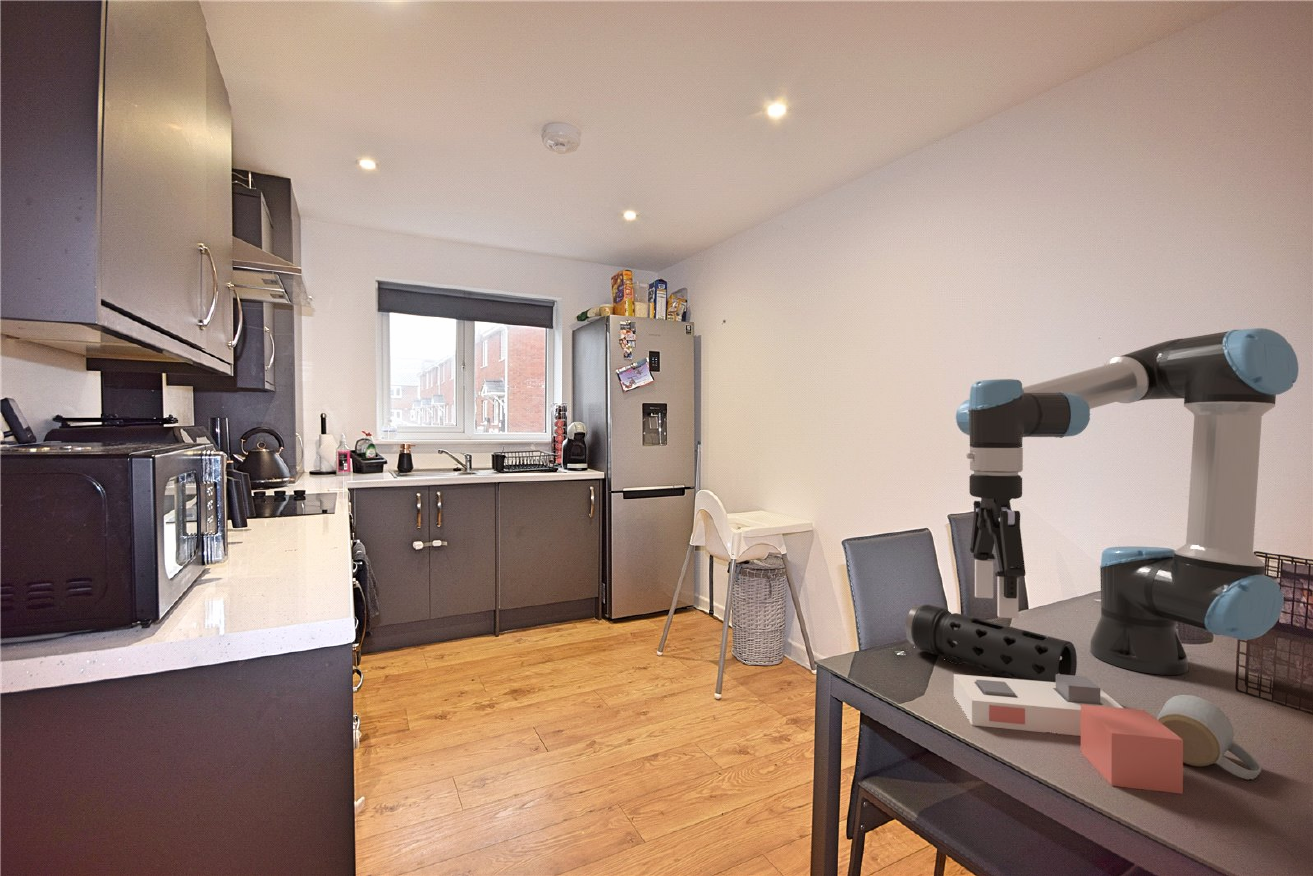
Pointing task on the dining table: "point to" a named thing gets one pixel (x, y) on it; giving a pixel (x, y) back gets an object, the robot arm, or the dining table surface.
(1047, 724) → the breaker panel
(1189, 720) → the ceramic mug
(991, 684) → the button tagged
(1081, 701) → the button plain
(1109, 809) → the dining table surface
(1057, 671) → the muzzle brake
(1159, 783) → the salmon red cube
